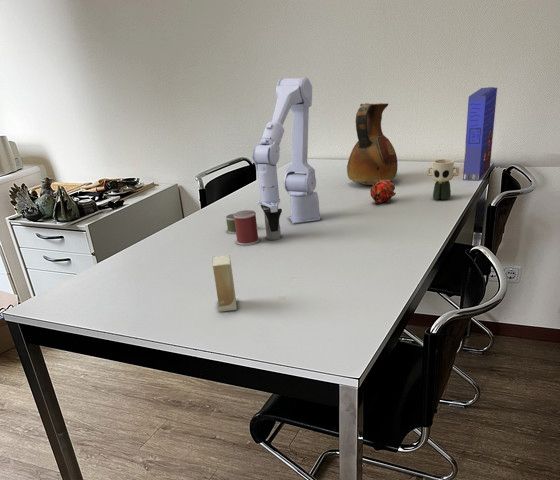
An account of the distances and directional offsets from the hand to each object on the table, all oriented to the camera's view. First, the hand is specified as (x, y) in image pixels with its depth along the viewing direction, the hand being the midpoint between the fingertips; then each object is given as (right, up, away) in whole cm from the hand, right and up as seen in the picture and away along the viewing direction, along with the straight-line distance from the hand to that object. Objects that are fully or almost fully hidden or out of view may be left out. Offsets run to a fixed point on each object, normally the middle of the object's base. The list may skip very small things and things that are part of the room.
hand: (273, 228), depth 189 cm
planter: (0, -3, +2) cm, 3 cm away
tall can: (-8, -4, +1) cm, 9 cm away
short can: (-12, +2, +12) cm, 17 cm away
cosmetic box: (-11, -30, -41) cm, 52 cm away
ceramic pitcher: (+39, +30, +49) cm, 70 cm away
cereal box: (+81, +34, +48) cm, 100 cm away
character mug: (+60, +16, +22) cm, 66 cm away
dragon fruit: (+39, +15, +25) cm, 49 cm away
